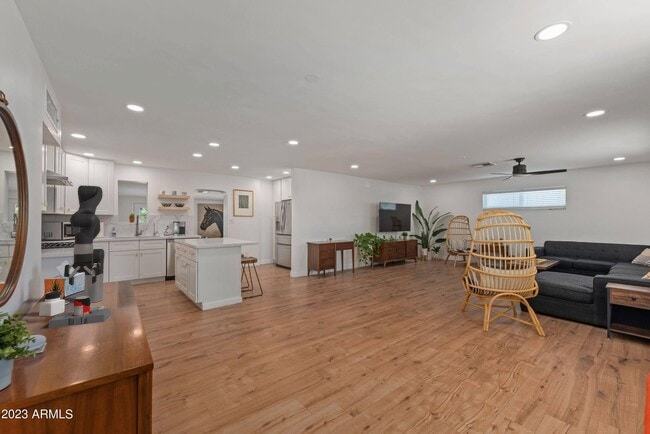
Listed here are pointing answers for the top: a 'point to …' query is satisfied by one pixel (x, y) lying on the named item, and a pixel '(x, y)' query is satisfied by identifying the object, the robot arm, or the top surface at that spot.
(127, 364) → the top surface
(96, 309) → the tray frame
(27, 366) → the top surface
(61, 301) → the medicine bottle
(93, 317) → the socket plate
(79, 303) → the beverage can
